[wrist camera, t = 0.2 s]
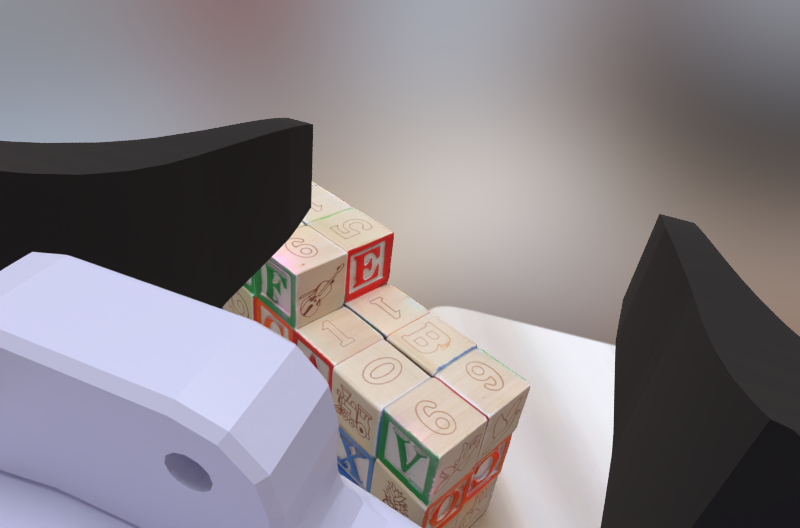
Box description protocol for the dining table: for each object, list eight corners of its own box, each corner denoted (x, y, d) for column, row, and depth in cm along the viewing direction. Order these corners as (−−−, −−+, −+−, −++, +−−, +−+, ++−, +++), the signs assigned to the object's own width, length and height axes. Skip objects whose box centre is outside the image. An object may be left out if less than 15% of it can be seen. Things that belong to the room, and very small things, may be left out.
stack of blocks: (490, 510, 30) (554, 332, 23) (405, 592, 26) (450, 406, 19) (260, 300, 42) (257, 140, 35) (177, 335, 38) (155, 162, 31)
